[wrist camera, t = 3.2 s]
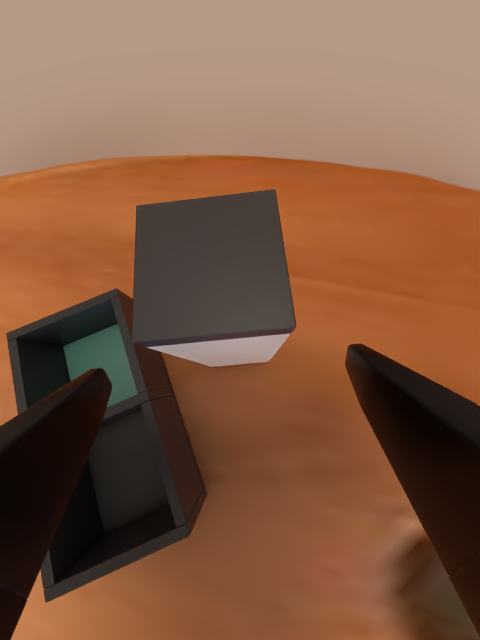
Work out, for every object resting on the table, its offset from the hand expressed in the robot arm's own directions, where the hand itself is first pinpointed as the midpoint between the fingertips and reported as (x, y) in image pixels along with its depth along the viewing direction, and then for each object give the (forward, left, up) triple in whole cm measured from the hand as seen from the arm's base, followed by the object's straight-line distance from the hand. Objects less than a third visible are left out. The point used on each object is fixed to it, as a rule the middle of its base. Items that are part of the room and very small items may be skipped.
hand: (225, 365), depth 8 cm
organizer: (-7, +6, -10) cm, 14 cm away
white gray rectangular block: (+2, +2, -10) cm, 10 cm away
